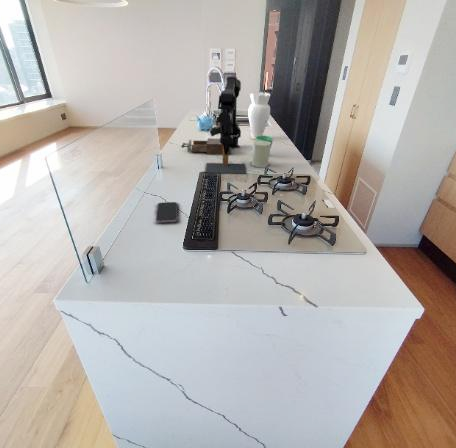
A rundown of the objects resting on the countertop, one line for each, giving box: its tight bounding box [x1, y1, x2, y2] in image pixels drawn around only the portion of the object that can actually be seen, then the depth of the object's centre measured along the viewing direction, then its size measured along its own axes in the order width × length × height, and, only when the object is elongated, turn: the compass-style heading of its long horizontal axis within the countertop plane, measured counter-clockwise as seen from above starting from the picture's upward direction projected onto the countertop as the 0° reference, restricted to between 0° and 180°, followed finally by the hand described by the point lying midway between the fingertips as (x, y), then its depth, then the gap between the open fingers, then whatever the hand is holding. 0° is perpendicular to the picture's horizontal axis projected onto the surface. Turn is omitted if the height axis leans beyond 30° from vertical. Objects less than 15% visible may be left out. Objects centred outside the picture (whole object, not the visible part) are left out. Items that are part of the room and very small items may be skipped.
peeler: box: [222, 147, 230, 165], centre depth 148 cm, size 3×3×12 cm
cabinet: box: [206, 137, 231, 156], centre depth 171 cm, size 14×13×6 cm
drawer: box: [181, 139, 207, 153], centre depth 171 cm, size 16×11×4 cm
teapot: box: [195, 114, 215, 132], centre depth 217 cm, size 13×13×10 cm
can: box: [250, 140, 272, 168], centre depth 150 cm, size 9×9×12 cm
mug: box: [255, 134, 274, 149], centre depth 167 cm, size 15×10×10 cm
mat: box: [205, 162, 247, 175], centre depth 147 cm, size 20×14×1 cm
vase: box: [247, 91, 271, 141], centre depth 193 cm, size 15×15×29 cm
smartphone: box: [155, 201, 178, 224], centre depth 105 cm, size 7×1×15 cm
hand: (225, 152), depth 148 cm, fingers open, 9 cm apart
